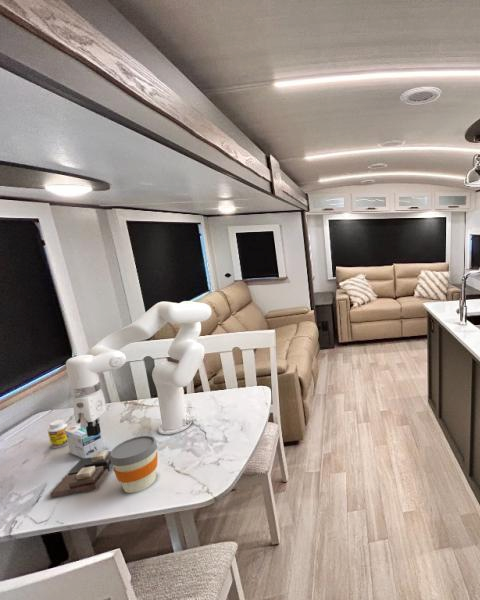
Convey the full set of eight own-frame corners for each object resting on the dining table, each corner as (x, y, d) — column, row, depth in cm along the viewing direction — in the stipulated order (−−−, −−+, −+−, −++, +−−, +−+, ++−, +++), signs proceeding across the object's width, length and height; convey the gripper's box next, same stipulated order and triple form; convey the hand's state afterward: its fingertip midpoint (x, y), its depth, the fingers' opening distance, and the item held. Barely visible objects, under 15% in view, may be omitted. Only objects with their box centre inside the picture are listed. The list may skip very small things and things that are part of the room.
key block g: (108, 473, 117) (106, 464, 116) (96, 489, 109) (94, 479, 109) (66, 481, 113) (64, 471, 112) (51, 498, 105) (49, 488, 105)
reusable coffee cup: (152, 492, 109) (146, 455, 105) (108, 500, 105) (100, 462, 102) (167, 467, 120) (162, 432, 117) (128, 473, 117) (121, 438, 114)
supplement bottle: (49, 450, 128) (44, 427, 126) (54, 442, 133) (49, 420, 130) (68, 445, 131) (63, 423, 129) (72, 438, 136) (67, 417, 133)
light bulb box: (106, 449, 129) (101, 426, 127) (85, 460, 123) (80, 435, 121) (89, 443, 133) (85, 420, 130) (69, 453, 126) (63, 429, 124)
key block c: (120, 457, 125) (118, 448, 124) (109, 471, 118) (108, 462, 117) (82, 463, 121) (80, 454, 120) (68, 478, 114) (66, 469, 113)
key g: (95, 470, 113) (94, 465, 113) (90, 477, 110) (89, 472, 109) (83, 472, 112) (82, 467, 112) (77, 480, 109) (75, 475, 108)
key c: (109, 454, 122) (108, 449, 121) (104, 460, 118) (103, 455, 118) (97, 456, 120) (96, 451, 120) (92, 462, 117) (91, 457, 117)
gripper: (87, 397, 107) (95, 445, 111) (109, 379, 121) (116, 421, 125) (58, 400, 105) (68, 449, 109) (85, 381, 119) (93, 424, 122)
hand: (94, 434), depth 117 cm, fingers closed
